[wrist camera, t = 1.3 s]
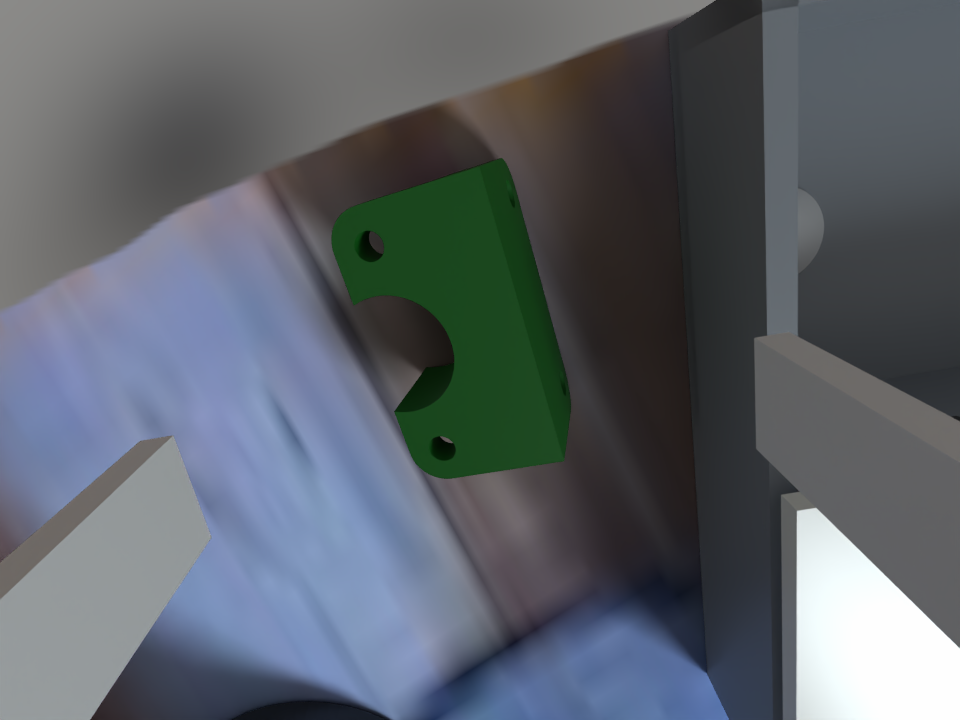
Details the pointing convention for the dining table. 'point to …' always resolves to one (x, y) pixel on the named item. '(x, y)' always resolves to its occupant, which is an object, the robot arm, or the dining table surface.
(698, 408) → the housing
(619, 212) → the dining table surface
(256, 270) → the dining table surface
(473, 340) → the clamp
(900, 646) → the lid
